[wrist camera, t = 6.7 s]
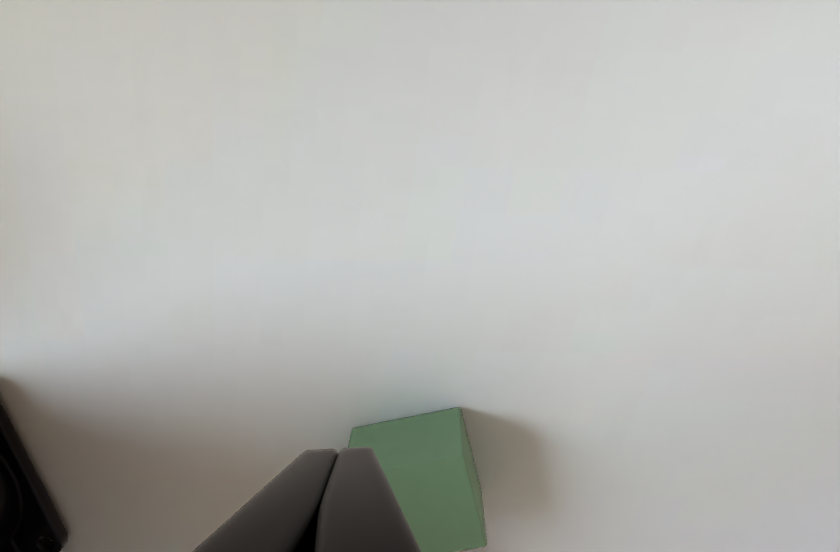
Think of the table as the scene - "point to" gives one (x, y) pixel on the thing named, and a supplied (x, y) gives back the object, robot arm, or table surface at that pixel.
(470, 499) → the green mallet
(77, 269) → the table surface
